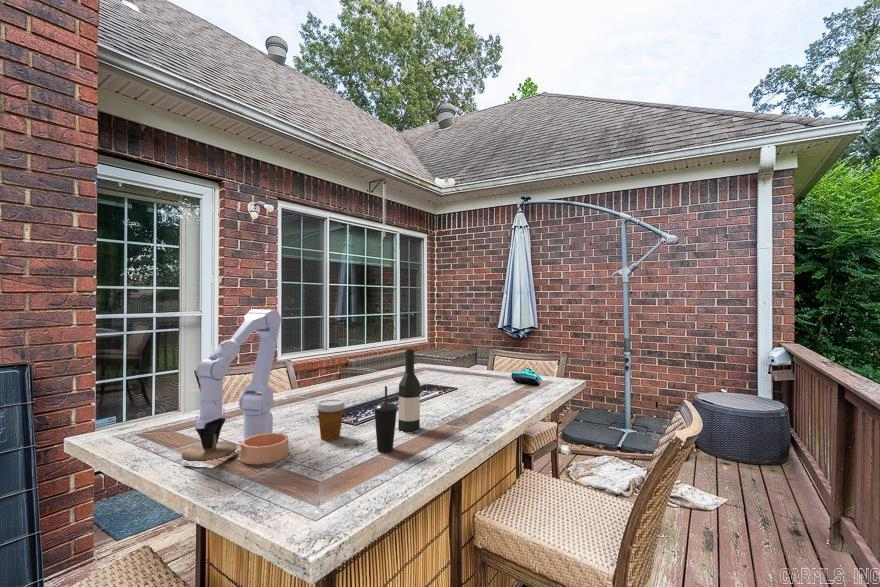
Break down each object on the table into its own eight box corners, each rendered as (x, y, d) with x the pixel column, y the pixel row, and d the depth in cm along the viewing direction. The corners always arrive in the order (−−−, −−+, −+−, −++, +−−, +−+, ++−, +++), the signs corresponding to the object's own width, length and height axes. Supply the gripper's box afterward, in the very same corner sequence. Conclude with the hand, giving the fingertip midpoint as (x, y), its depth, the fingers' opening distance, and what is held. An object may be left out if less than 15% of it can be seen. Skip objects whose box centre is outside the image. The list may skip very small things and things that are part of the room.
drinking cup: (392, 455, 120) (393, 389, 121) (369, 453, 122) (370, 388, 122) (400, 446, 128) (401, 384, 128) (377, 445, 129) (378, 383, 130)
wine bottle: (394, 427, 148) (395, 347, 149) (415, 425, 152) (416, 346, 153) (402, 434, 141) (403, 349, 142) (423, 431, 144) (424, 348, 145)
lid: (205, 442, 124) (205, 427, 124) (246, 445, 122) (247, 429, 123) (169, 459, 110) (170, 442, 111) (215, 462, 109) (215, 444, 109)
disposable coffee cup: (315, 443, 131) (316, 406, 131) (316, 434, 140) (317, 400, 140) (344, 440, 133) (345, 404, 134) (343, 432, 142) (344, 398, 143)
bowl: (257, 448, 125) (258, 432, 126) (295, 450, 124) (295, 434, 124) (231, 463, 113) (231, 446, 113) (273, 466, 111) (273, 448, 111)
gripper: (208, 394, 124) (206, 438, 123) (184, 406, 109) (182, 456, 109) (231, 394, 125) (230, 437, 124) (211, 405, 110) (210, 455, 110)
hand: (210, 446), depth 117 cm, fingers closed on lid, 3 cm apart
